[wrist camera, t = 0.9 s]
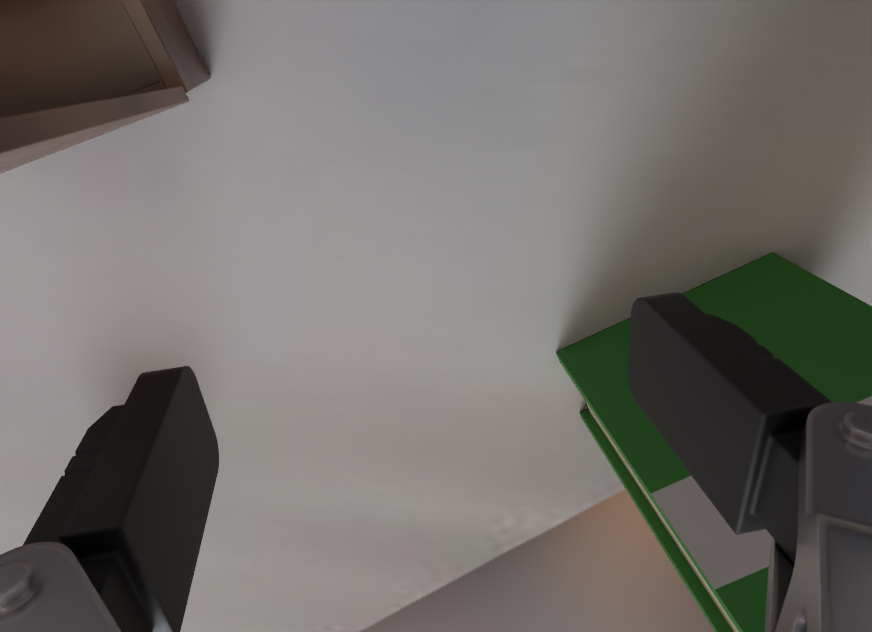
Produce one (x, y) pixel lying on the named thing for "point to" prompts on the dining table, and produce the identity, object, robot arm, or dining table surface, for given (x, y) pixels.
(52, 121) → the lid
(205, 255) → the dining table surface
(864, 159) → the dining table surface
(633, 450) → the hardback book
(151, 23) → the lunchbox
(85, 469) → the robot arm
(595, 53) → the dining table surface
